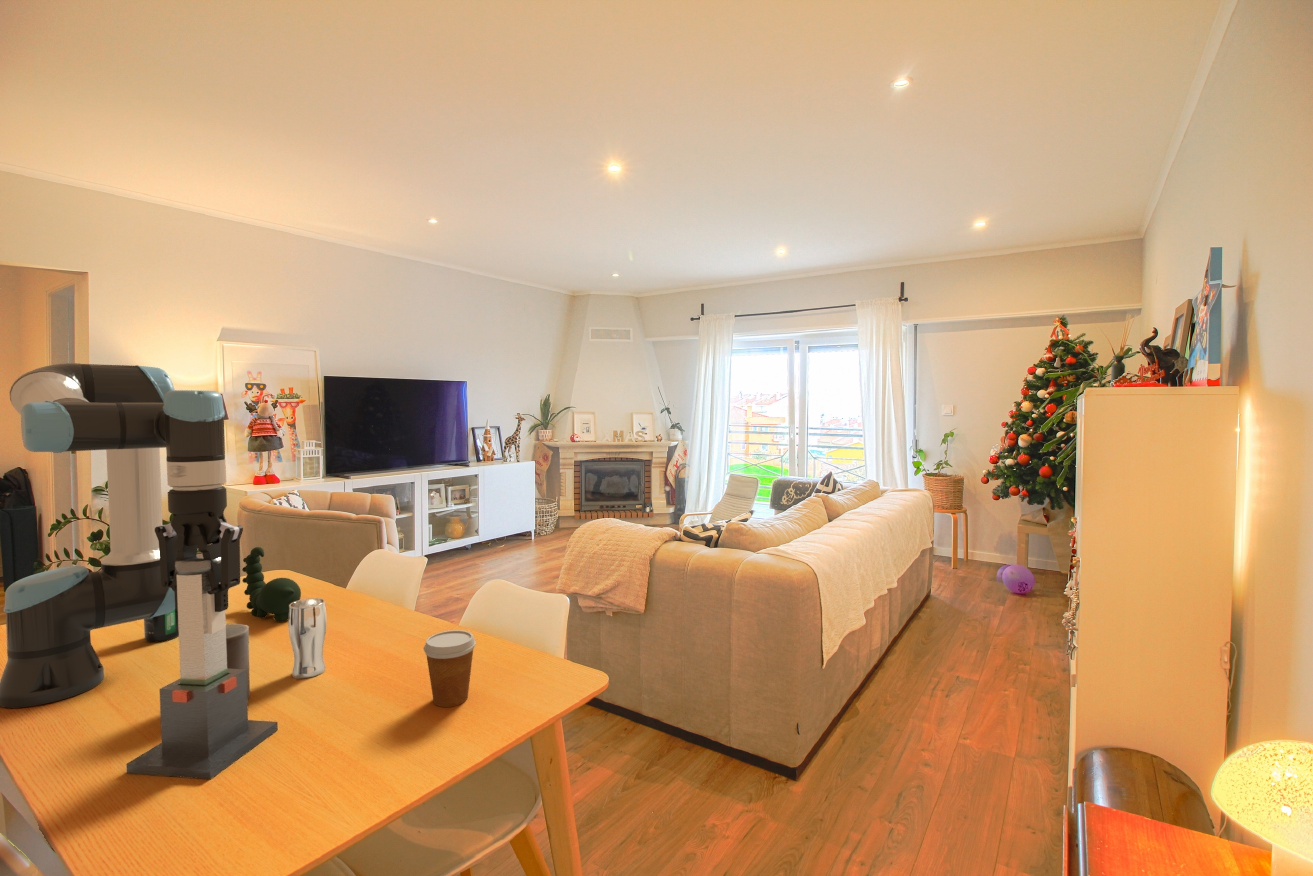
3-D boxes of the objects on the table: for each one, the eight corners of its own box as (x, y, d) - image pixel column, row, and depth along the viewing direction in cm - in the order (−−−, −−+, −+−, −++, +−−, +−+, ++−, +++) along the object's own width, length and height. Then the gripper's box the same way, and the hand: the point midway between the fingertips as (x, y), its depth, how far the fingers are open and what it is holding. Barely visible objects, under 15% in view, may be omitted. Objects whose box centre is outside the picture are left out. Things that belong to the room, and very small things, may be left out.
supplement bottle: (179, 639, 146) (177, 590, 145) (142, 645, 142) (140, 595, 142) (182, 630, 152) (180, 583, 151) (146, 636, 148) (144, 587, 147)
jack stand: (126, 773, 93) (123, 697, 92) (203, 725, 107) (201, 659, 106) (210, 779, 91) (207, 702, 91) (277, 730, 105) (275, 662, 105)
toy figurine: (234, 618, 165) (275, 630, 151) (229, 549, 165) (270, 554, 151) (272, 609, 173) (314, 619, 158) (267, 543, 173) (309, 547, 158)
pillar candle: (201, 721, 108) (199, 638, 108) (177, 706, 113) (176, 627, 113) (260, 699, 117) (259, 622, 116) (235, 686, 122) (234, 613, 121)
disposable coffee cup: (427, 716, 110) (426, 651, 110) (421, 694, 119) (420, 634, 118) (481, 704, 115) (480, 642, 114) (471, 684, 123) (470, 626, 122)
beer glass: (310, 681, 124) (308, 609, 123) (281, 678, 125) (279, 607, 125) (335, 667, 131) (333, 598, 130) (307, 664, 132) (305, 596, 131)
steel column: (169, 711, 96) (163, 562, 95) (203, 692, 102) (198, 552, 101) (206, 714, 95) (201, 563, 94) (238, 694, 101) (234, 553, 100)
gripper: (125, 489, 94) (131, 636, 95) (228, 491, 92) (233, 641, 93) (169, 483, 101) (174, 619, 103) (265, 484, 100) (269, 624, 101)
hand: (202, 629), depth 98 cm, fingers closed on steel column, 4 cm apart
